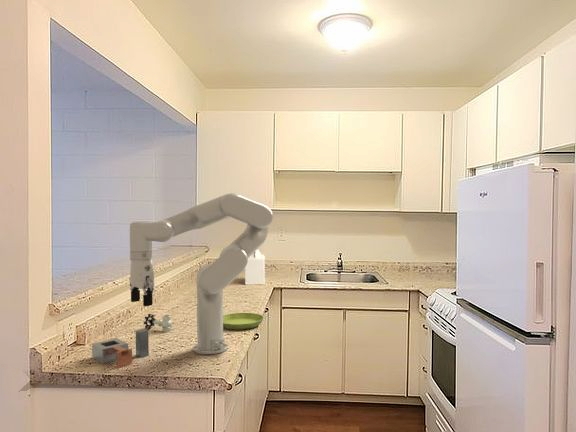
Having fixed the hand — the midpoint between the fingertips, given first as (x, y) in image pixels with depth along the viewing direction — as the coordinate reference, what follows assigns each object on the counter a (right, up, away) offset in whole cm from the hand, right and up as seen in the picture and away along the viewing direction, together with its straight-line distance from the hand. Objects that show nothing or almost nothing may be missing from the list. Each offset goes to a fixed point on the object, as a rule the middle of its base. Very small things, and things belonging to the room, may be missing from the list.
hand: (141, 303), depth 160 cm
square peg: (0, -19, 0) cm, 19 cm away
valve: (-3, -18, +32) cm, 37 cm away
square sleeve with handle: (-8, -19, -5) cm, 21 cm away
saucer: (+31, -18, +41) cm, 54 cm away
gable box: (+30, -15, +152) cm, 156 cm away
